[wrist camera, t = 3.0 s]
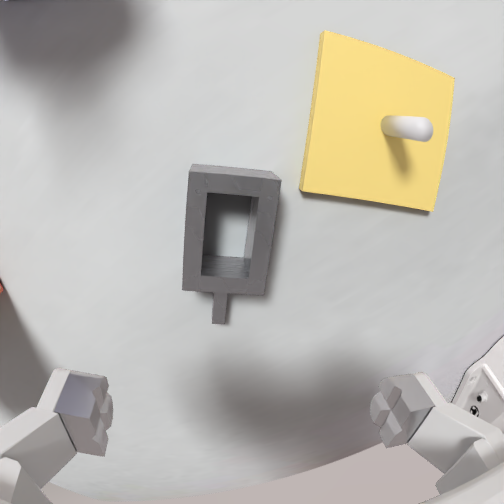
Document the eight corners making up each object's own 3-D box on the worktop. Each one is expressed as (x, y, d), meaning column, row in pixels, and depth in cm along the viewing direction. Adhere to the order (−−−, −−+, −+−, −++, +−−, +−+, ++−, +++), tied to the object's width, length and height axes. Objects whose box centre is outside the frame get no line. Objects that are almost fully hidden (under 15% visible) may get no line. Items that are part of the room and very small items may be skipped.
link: (250, 315, 27) (256, 340, 24) (184, 311, 26) (181, 337, 23) (271, 171, 23) (281, 179, 20) (192, 164, 22) (189, 171, 19)
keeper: (426, 208, 25) (465, 229, 20) (298, 188, 23) (322, 207, 18) (447, 78, 21) (490, 76, 16) (320, 33, 19) (349, 12, 14)
